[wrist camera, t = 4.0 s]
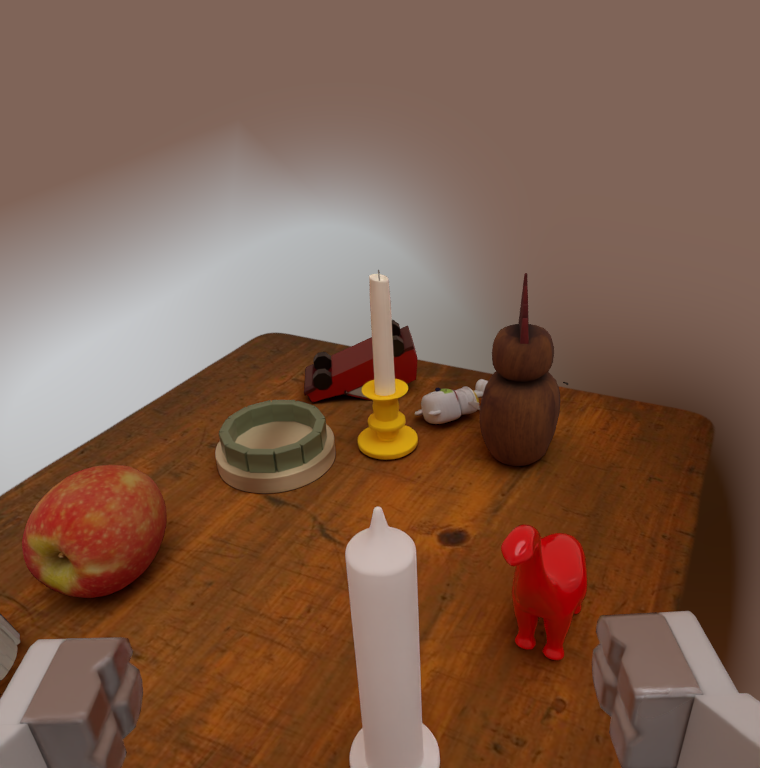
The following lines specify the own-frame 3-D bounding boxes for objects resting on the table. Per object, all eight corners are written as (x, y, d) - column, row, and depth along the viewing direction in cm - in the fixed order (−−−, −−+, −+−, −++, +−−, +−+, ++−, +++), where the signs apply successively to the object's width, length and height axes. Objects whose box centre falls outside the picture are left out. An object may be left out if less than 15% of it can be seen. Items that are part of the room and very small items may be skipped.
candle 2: (331, 770, 32) (295, 517, 25) (386, 704, 35) (368, 461, 28) (405, 827, 30) (389, 565, 22) (457, 750, 33) (457, 497, 25)
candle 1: (425, 432, 59) (421, 261, 51) (406, 464, 54) (398, 283, 47) (371, 423, 60) (360, 257, 53) (348, 454, 56) (332, 278, 49)
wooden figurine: (500, 426, 59) (506, 263, 52) (564, 442, 56) (579, 272, 49) (468, 465, 54) (470, 291, 47) (536, 484, 51) (549, 302, 44)
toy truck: (296, 384, 63) (321, 425, 65) (406, 333, 61) (428, 377, 63) (299, 358, 68) (322, 397, 70) (401, 311, 66) (421, 352, 68)
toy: (579, 356, 60) (428, 395, 56) (585, 391, 60) (436, 432, 56) (540, 356, 66) (402, 391, 62) (546, 387, 67) (409, 424, 62)
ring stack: (343, 427, 60) (340, 395, 59) (325, 494, 52) (321, 459, 50) (237, 427, 62) (231, 395, 60) (201, 492, 53) (194, 458, 51)
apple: (22, 606, 43) (-19, 508, 39) (107, 524, 50) (79, 434, 46) (125, 633, 40) (91, 530, 37) (199, 543, 47) (177, 449, 44)
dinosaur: (610, 562, 44) (633, 397, 38) (540, 757, 32) (558, 565, 26) (551, 544, 45) (565, 385, 40) (465, 723, 34) (467, 536, 28)
